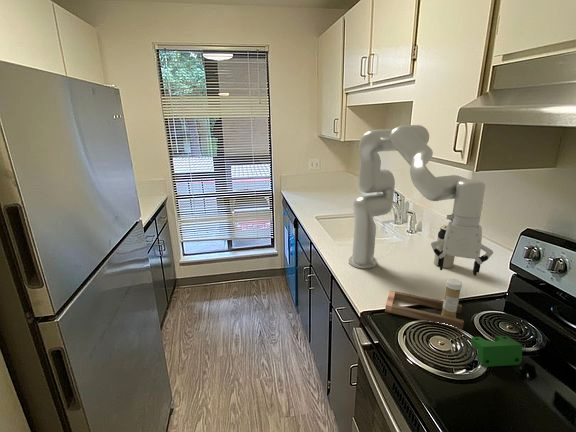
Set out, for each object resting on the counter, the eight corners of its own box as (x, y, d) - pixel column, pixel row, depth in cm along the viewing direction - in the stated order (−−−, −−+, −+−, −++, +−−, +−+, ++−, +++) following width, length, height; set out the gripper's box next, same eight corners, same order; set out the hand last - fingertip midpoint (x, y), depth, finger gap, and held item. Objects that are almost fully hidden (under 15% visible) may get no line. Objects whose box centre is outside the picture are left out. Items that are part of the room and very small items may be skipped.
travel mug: (456, 266, 146) (463, 228, 141) (445, 270, 143) (451, 231, 137) (441, 259, 153) (447, 223, 147) (429, 263, 149) (435, 226, 144)
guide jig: (389, 296, 122) (389, 290, 122) (460, 310, 113) (461, 304, 112) (385, 311, 113) (385, 305, 112) (462, 329, 104) (463, 322, 103)
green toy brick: (498, 366, 94) (511, 337, 94) (514, 377, 88) (527, 347, 88) (462, 352, 93) (475, 323, 93) (476, 362, 87) (489, 331, 87)
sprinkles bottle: (443, 311, 113) (449, 276, 109) (457, 316, 110) (464, 281, 106) (438, 317, 110) (444, 281, 106) (453, 322, 107) (459, 286, 103)
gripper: (434, 220, 99) (428, 271, 104) (500, 227, 93) (490, 281, 98) (434, 214, 106) (428, 262, 111) (496, 220, 99) (487, 271, 104)
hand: (457, 271), depth 104 cm, fingers open, 9 cm apart
